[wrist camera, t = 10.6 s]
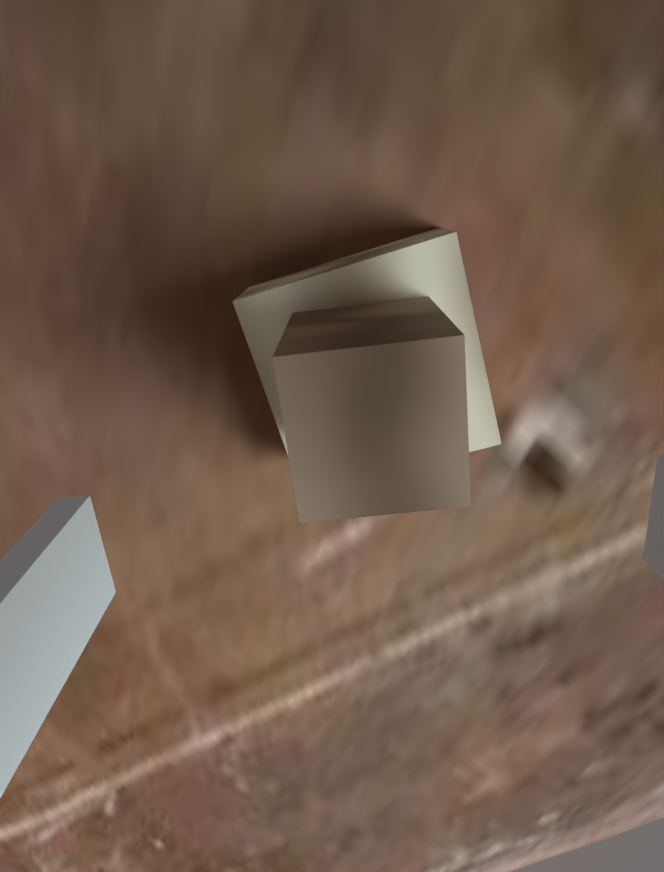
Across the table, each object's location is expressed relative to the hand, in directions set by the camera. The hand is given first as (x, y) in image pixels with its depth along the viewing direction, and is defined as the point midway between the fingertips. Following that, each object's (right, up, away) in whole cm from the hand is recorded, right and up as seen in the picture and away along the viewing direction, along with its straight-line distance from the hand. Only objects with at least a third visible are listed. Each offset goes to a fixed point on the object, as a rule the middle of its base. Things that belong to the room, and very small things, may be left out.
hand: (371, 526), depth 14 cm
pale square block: (+1, +7, +18) cm, 19 cm away
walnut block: (+1, +5, +13) cm, 14 cm away
